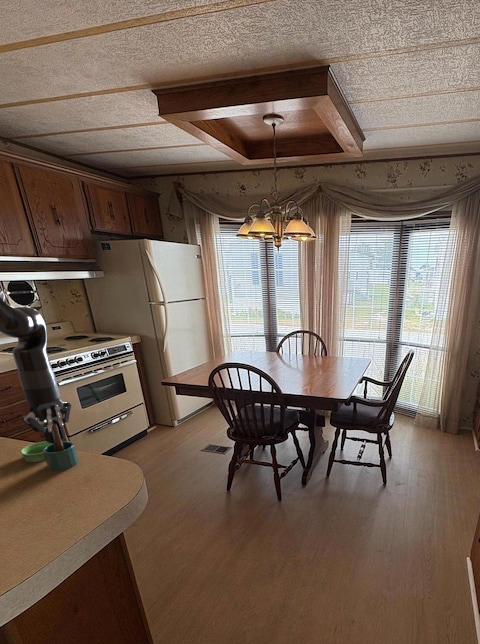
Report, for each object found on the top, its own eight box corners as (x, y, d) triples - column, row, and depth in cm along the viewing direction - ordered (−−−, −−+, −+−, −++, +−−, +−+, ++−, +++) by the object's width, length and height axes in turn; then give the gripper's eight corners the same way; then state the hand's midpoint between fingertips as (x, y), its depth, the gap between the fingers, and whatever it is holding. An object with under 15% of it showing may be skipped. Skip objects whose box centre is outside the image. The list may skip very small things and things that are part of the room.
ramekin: (30, 455, 110) (26, 443, 108) (64, 451, 113) (60, 439, 112) (20, 469, 102) (16, 456, 100) (57, 464, 106) (53, 451, 104)
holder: (43, 473, 100) (35, 451, 98) (65, 461, 107) (59, 440, 104) (64, 477, 99) (58, 454, 96) (85, 464, 106) (79, 443, 103)
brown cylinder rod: (54, 453, 100) (45, 426, 97) (60, 450, 102) (52, 423, 99) (60, 454, 100) (51, 426, 96) (66, 451, 102) (58, 423, 98)
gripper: (51, 376, 100) (66, 429, 106) (1, 390, 87) (22, 450, 94) (73, 378, 99) (87, 432, 105) (26, 393, 86) (45, 453, 93)
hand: (56, 440), depth 100 cm, fingers closed on brown cylinder rod, 2 cm apart
